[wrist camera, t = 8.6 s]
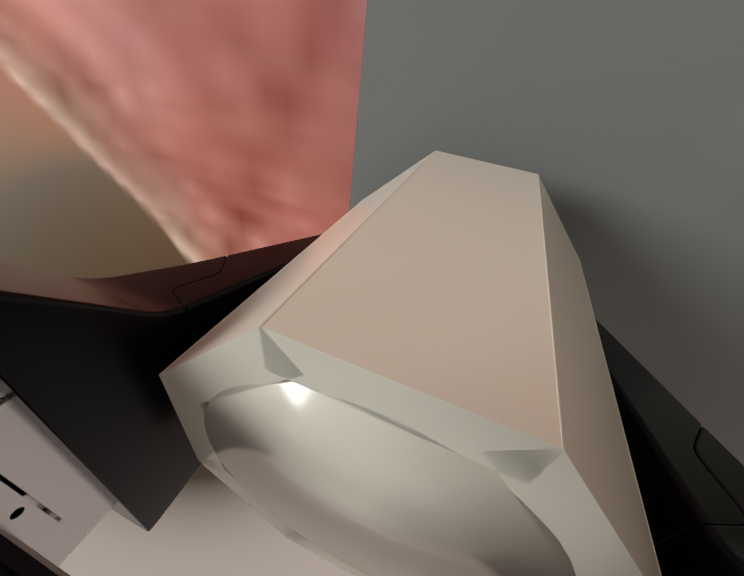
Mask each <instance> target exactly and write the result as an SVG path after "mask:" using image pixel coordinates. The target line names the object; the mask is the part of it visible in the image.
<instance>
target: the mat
mask: <svg viewBox="0 0 744 576" xmlns="http://www.w3.org/2000/svg"><path fill="white" fill-rule="evenodd" d="M435 150H436V151H440V152H445V153H449V154H453V155H458V156H462V157H466V158H471V159H475V160H479V161H484V162H488V163H492V164H497V165H501V166H505V167H510V168H514V169H518V170H523V171H527V172H531V173H536V174H539V177H540V179H541V181H542V183H543V185H544V187H545V189H546V191H547V193H548V195H549V197H550V199H551V202H552V204H553V206H554V208H555V210H556V212H557V214H558V216H559V218H560V220H561V222H562V224H563V226H564V228H565V230H566V233H567V235H568V237H569V239H570V241H571V243H572V245H573V247H574V249H575V251H576V253H577V255H578V257H579V259H580V263H581V266H582V270H583V274H584V278H585V282H586V286H587V290H588V293H589V297H590V301H591V305H592V309H593V313H594V317H595V319H596V320H597V321H598V322H599V323H600V324H601V325H602V326H603V327H604V328H605V329H606V330H607V331H608V332H609V333H610V334H611V335H613V336H614V337H615V338H616V339H617V340H618V341H619V342H620V343H621V344H622V345H623V346H624V347H625V348H626V349H627V350H628V351H629V352H630V353H631V354H632V355H633V356H634V357H635V358H636V359H637V360H638V361H639V362H640V363H641V364H642V365H643V366H644V367H645V368H646V369H647V370H648V371H649V372H650V373H651V374H652V375H653V376H654V377H655V378H656V379H657V380H658V381H659V382H660V383H661V384H662V385H663V386H664V387H665V388H666V389H667V390H668V391H669V392H670V393H671V394H672V395H673V396H674V397H675V398H676V399H677V400H678V401H679V402H680V403H681V404H682V405H683V406H684V407H685V408H686V409H687V410H688V411H689V412H690V413H691V414H692V415H693V416H694V417H695V418H696V419H697V420H698V421H699V422H700V423H701V427H704V428H706V429H707V430H708V431H709V432H710V433H711V434H712V435H713V436H714V437H715V438H716V439H717V440H718V441H719V442H720V443H721V444H722V445H723V446H724V447H725V448H726V449H727V450H728V451H729V452H730V453H731V454H732V455H733V456H734V457H735V458H736V459H737V460H738V461H739V462H740V463H741V464H742V465H744V0H367V11H366V22H365V34H364V46H363V58H362V70H361V81H360V93H359V105H358V117H357V129H356V141H355V152H354V164H353V176H352V188H351V200H350V210H351V209H352V208H354V207H355V206H356V205H357V204H358V203H359V202H361V201H362V200H363V199H365V198H366V197H367V196H369V195H370V194H372V193H373V192H375V191H376V190H378V189H379V188H381V187H382V186H384V185H385V184H387V183H388V182H390V181H391V180H393V179H394V178H396V177H397V176H398V175H400V174H401V173H403V172H404V171H406V170H407V169H409V168H410V167H412V166H413V165H415V164H416V163H418V162H419V161H421V160H422V159H424V158H425V157H427V156H428V155H429V154H431V153H432V152H434V151H435Z"/></svg>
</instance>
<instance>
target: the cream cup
mask: <svg viewBox="0 0 744 576" xmlns="http://www.w3.org/2000/svg"><path fill="white" fill-rule="evenodd" d="M159 376H160V378H161V380H162V383H163V385H164V387H165V389H166V391H167V393H168V396H169V398H170V400H171V402H172V404H173V406H174V409H175V411H176V413H177V415H178V417H179V420H180V422H181V424H182V426H183V428H184V430H185V433H186V435H187V437H188V439H189V441H190V443H191V446H192V448H193V450H194V452H195V454H196V456H197V459H198V461H200V462H201V463H202V464H203V465H204V466H205V467H206V468H208V469H209V470H210V471H211V472H212V473H213V474H215V475H216V476H217V477H218V478H219V479H220V480H221V481H222V482H224V483H225V484H226V485H227V486H228V487H229V488H231V489H232V490H233V491H234V492H235V493H236V494H238V495H239V496H240V497H241V498H242V499H243V500H244V501H245V502H247V503H248V504H249V505H250V506H251V507H252V508H253V509H255V510H256V511H257V512H258V513H259V514H260V515H261V516H263V517H264V518H265V519H266V520H267V521H268V522H269V523H271V524H272V525H273V526H274V527H275V528H276V529H277V530H279V531H280V532H281V533H282V534H283V535H284V536H285V537H287V538H288V539H290V540H292V541H293V542H295V543H297V544H299V545H300V546H302V547H304V548H306V549H307V550H309V551H311V552H313V553H315V554H316V555H318V556H320V557H322V558H324V559H325V560H327V561H329V562H331V563H332V564H334V565H336V566H338V567H339V568H341V569H343V570H345V571H347V572H348V573H350V574H352V575H354V576H662V575H661V571H660V568H659V564H658V560H657V556H656V552H655V548H654V544H653V540H652V537H651V533H650V529H649V525H648V521H647V517H646V513H645V510H644V506H643V502H642V498H641V494H640V490H639V486H638V483H637V479H636V475H635V471H634V467H633V463H632V459H631V456H630V452H629V448H628V444H627V440H626V436H625V432H624V429H623V425H622V421H621V417H620V413H619V409H618V405H617V402H616V398H615V394H614V390H613V386H612V382H611V378H610V374H609V371H608V367H607V363H606V359H605V355H604V351H603V347H602V344H601V340H600V336H599V332H598V328H597V324H596V320H595V317H594V313H593V309H592V305H591V301H590V297H589V293H588V290H587V286H586V282H585V278H584V274H583V270H582V266H581V263H580V259H579V257H578V255H577V253H576V251H575V249H574V247H573V245H572V243H571V241H570V239H569V237H568V235H567V233H566V230H565V228H564V226H563V224H562V222H561V220H560V218H559V216H558V214H557V212H556V210H555V208H554V206H553V204H552V202H551V199H550V197H549V195H548V193H547V191H546V189H545V187H544V185H543V183H542V181H541V179H540V177H539V174H536V173H531V172H527V171H523V170H518V169H514V168H510V167H505V166H501V165H497V164H492V163H488V162H484V161H479V160H475V159H471V158H466V157H462V156H458V155H453V154H449V153H445V152H440V151H436V150H435V151H434V152H432V153H431V154H429V155H428V156H427V157H425V158H424V159H422V160H421V161H419V162H418V163H416V164H415V165H413V166H412V167H410V168H409V169H407V170H406V171H404V172H403V173H401V174H400V175H398V176H397V177H396V178H394V179H393V180H391V181H390V182H388V183H387V184H385V185H384V186H382V187H381V188H379V189H378V190H376V191H375V192H373V193H372V194H370V195H369V196H367V197H366V198H365V199H363V200H362V201H361V202H359V203H358V204H357V205H356V206H355V207H354V208H352V209H351V210H350V211H349V212H348V213H347V214H345V215H344V216H343V217H342V218H341V219H340V220H338V221H337V222H336V223H335V224H334V225H333V226H331V227H330V228H329V229H328V230H327V231H326V232H324V233H323V234H322V235H321V236H320V237H319V238H318V239H316V240H315V241H314V242H313V243H312V244H311V245H309V246H308V247H307V248H306V249H305V250H304V251H302V252H301V253H300V254H299V255H298V256H297V257H295V258H294V259H293V260H292V261H291V262H290V263H288V264H287V265H286V266H285V267H284V268H283V269H281V270H280V271H279V272H278V273H277V274H276V275H274V276H273V277H272V278H271V279H270V280H269V281H267V282H266V283H265V284H264V285H263V286H262V287H260V288H259V289H258V290H257V291H256V292H255V293H253V294H252V295H251V296H250V297H249V298H248V299H246V300H245V301H244V302H243V303H242V304H241V305H239V306H238V307H237V308H236V309H235V310H234V311H232V312H231V313H230V314H229V315H228V316H227V317H225V318H224V319H223V320H222V321H221V322H220V323H218V324H217V325H216V326H215V327H214V328H213V329H211V330H210V331H209V332H208V333H207V334H206V335H205V336H203V337H202V338H201V339H200V340H199V341H198V342H196V343H195V344H194V345H193V346H192V347H191V348H189V349H188V350H187V351H186V352H185V353H184V354H182V355H181V356H180V357H179V358H178V359H177V360H175V361H174V362H173V363H172V364H171V365H170V366H168V367H167V368H166V369H165V370H164V371H163V372H161V373H160V374H159Z"/></svg>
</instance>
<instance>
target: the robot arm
mask: <svg viewBox="0 0 744 576" xmlns="http://www.w3.org/2000/svg"><path fill="white" fill-rule="evenodd" d="M321 235H322V234H321ZM321 235H317V236H312V237H308V238H303V239H299V240H295V241H290V242H286V243H281V244H277V245H272V246H268V247H264V248H259V249H255V250H250V251H246V252H241V253H237V254H233V255H228V257H226V256H223V257H219V258H215V259H210V260H205V261H201V262H196V263H191V264H185V265H180V266H174V267H169V268H163V269H156V270H150V271H144V272H138V273H133V274H126V275H120V276H114V277H107V278H75V277H69V276H64V275H59V274H55V273H50V272H46V271H42V270H37V269H33V268H29V267H24V266H20V265H16V264H11V263H7V262H3V261H0V576H70V575H68V574H67V573H66V572H64V571H63V570H61V569H60V568H59V567H58V566H59V565H60V564H61V563H62V562H63V561H64V560H65V559H66V558H67V556H68V555H69V554H70V553H71V552H72V551H73V550H74V549H75V548H76V547H77V546H78V545H79V544H80V542H81V541H82V540H83V539H84V538H85V537H86V536H87V535H88V534H89V533H90V532H91V531H92V529H93V528H94V527H95V526H96V525H97V524H98V523H99V522H100V521H101V520H102V519H103V518H104V516H105V515H106V514H107V513H108V512H109V511H110V510H111V509H113V510H114V511H116V512H117V513H119V514H120V515H122V516H124V517H125V518H127V519H128V520H130V521H132V522H133V523H135V524H136V525H138V526H139V527H141V528H143V529H144V530H146V531H150V530H151V529H152V527H153V526H154V525H155V524H156V523H157V521H158V520H159V519H160V517H161V516H162V515H163V514H164V512H165V511H166V510H167V508H168V507H169V506H170V504H171V503H172V502H173V500H174V499H175V498H176V497H177V495H178V494H179V493H180V491H181V490H182V489H183V487H184V486H185V485H186V483H187V482H188V481H189V479H190V478H191V477H192V475H193V474H194V473H195V472H196V470H197V469H198V468H199V466H200V465H201V464H202V463H201V462H200V461H198V459H197V456H196V454H195V452H194V450H193V448H192V446H191V443H190V441H189V439H188V437H187V435H186V433H185V430H184V428H183V426H182V424H181V422H180V420H179V417H178V415H177V413H176V411H175V409H174V406H173V404H172V402H171V400H170V398H169V396H168V393H167V391H166V389H165V387H164V385H163V383H162V380H161V378H160V376H159V374H160V373H161V372H163V371H164V370H165V369H166V368H167V367H168V366H170V365H171V364H172V363H173V362H174V361H175V360H177V359H178V358H179V357H180V356H181V355H182V354H184V353H185V352H186V351H187V350H188V349H189V348H191V347H192V346H193V345H194V344H195V343H196V342H198V341H199V340H200V339H201V338H202V337H203V336H205V335H206V334H207V333H208V332H209V331H210V330H211V329H213V328H214V327H215V326H216V325H217V324H218V323H220V322H221V321H222V320H223V319H224V318H225V317H227V316H228V315H229V314H230V313H231V312H232V311H234V310H235V309H236V308H237V307H238V306H239V305H241V304H242V303H243V302H244V301H245V300H246V299H248V298H249V297H250V296H251V295H252V294H253V293H255V292H256V291H257V290H258V289H259V288H260V287H262V286H263V285H264V284H265V283H266V282H267V281H269V280H270V279H271V278H272V277H273V276H274V275H276V274H277V273H278V272H279V271H280V270H281V269H283V268H284V267H285V266H286V265H287V264H288V263H290V262H291V261H292V260H293V259H294V258H295V257H297V256H298V255H299V254H300V253H301V252H302V251H304V250H305V249H306V248H307V247H308V246H309V245H311V244H312V243H313V242H314V241H315V240H316V239H318V238H319V237H320V236H321ZM595 320H596V319H595ZM596 324H597V328H598V332H599V336H600V340H601V344H602V347H603V351H604V355H605V359H606V363H607V367H608V371H609V374H610V378H611V382H612V386H613V390H614V394H615V398H616V402H617V405H618V409H619V413H620V417H621V421H622V425H623V429H624V432H625V436H626V440H627V444H628V448H629V452H630V456H631V459H632V463H633V467H634V471H635V475H636V479H637V483H638V486H639V490H640V494H641V498H642V502H643V506H644V510H645V513H646V517H647V521H648V525H649V529H650V533H651V537H652V540H653V544H654V548H655V552H656V556H657V560H658V564H659V568H660V571H661V575H662V576H744V465H742V464H741V463H740V462H739V461H738V460H737V459H736V458H735V457H734V456H733V455H732V454H731V453H730V452H729V451H728V450H727V449H726V448H725V447H724V446H723V445H722V444H721V443H720V442H719V441H718V440H717V439H716V438H715V437H714V436H713V435H712V434H711V433H710V432H709V431H708V430H707V429H706V428H704V427H701V423H700V422H699V421H698V420H697V419H696V418H695V417H694V416H693V415H692V414H691V413H690V412H689V411H688V410H687V409H686V408H685V407H684V406H683V405H682V404H681V403H680V402H679V401H678V400H677V399H676V398H675V397H674V396H673V395H672V394H671V393H670V392H669V391H668V390H667V389H666V388H665V387H664V386H663V385H662V384H661V383H660V382H659V381H658V380H657V379H656V378H655V377H654V376H653V375H652V374H651V373H650V372H649V371H648V370H647V369H646V368H645V367H644V366H643V365H642V364H641V363H640V362H639V361H638V360H637V359H636V358H635V357H634V356H633V355H632V354H631V353H630V352H629V351H628V350H627V349H626V348H625V347H624V346H623V345H622V344H621V343H620V342H619V341H618V340H617V339H616V338H615V337H614V336H613V335H611V334H610V333H609V332H608V331H607V330H606V329H605V328H604V327H603V326H602V325H601V324H600V323H599V322H598V321H597V320H596Z"/></svg>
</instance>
